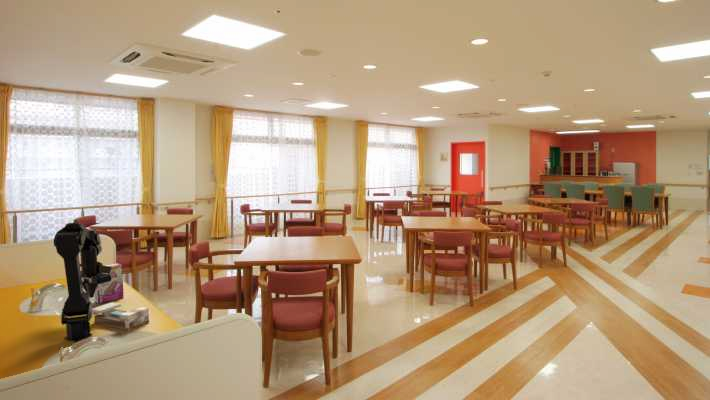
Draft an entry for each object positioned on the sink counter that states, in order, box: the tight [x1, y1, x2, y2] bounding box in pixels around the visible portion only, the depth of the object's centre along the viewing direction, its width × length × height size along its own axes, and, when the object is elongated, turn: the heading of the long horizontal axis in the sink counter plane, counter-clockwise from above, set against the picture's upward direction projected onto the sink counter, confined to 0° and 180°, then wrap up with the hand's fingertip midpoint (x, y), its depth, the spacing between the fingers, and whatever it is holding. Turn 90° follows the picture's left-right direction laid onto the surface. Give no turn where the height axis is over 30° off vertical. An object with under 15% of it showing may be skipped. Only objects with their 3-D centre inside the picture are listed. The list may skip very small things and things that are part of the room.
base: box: [93, 306, 150, 331], centre depth 168 cm, size 9×20×6 cm, turn 66°
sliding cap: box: [92, 301, 122, 316], centre depth 171 cm, size 9×6×4 cm, turn 156°
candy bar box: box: [94, 263, 124, 305], centre depth 197 cm, size 11×5×16 cm, turn 141°
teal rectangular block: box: [110, 310, 125, 318], centre depth 168 cm, size 8×3×3 cm, turn 65°
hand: (91, 297), depth 174 cm, fingers closed
